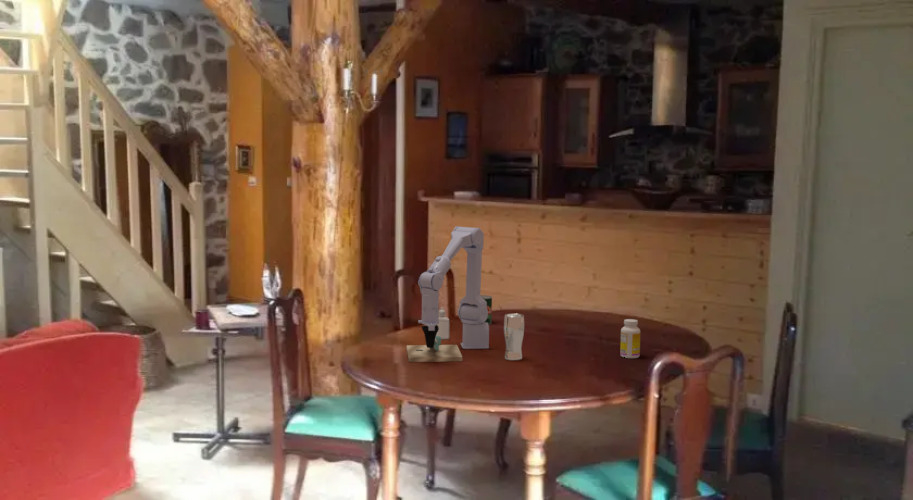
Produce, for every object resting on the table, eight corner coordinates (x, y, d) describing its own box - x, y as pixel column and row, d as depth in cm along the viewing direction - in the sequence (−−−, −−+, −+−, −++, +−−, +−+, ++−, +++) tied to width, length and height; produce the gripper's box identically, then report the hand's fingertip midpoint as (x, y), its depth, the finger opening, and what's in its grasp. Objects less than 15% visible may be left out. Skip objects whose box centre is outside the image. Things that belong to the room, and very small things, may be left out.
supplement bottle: (640, 355, 306) (642, 319, 304) (638, 359, 300) (639, 322, 298) (621, 353, 308) (622, 317, 307) (618, 357, 302) (619, 321, 300)
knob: (425, 343, 304) (425, 335, 304) (439, 342, 305) (439, 335, 305) (429, 350, 294) (429, 342, 293) (444, 349, 294) (444, 342, 294)
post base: (456, 348, 313) (456, 339, 312) (462, 361, 295) (462, 351, 294) (406, 349, 311) (406, 339, 310) (408, 361, 293) (409, 351, 293)
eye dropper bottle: (444, 340, 326) (444, 309, 324) (432, 338, 329) (432, 307, 328) (451, 338, 329) (451, 307, 328) (439, 336, 332) (439, 305, 331)
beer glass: (509, 361, 295) (510, 317, 293) (499, 357, 301) (500, 314, 299) (527, 359, 298) (528, 316, 296) (516, 355, 304) (517, 312, 303)
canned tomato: (473, 320, 363) (474, 294, 362) (492, 321, 362) (492, 295, 361) (471, 324, 355) (471, 298, 354) (490, 325, 354) (491, 298, 353)
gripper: (417, 303, 301) (416, 342, 302) (419, 311, 286) (419, 352, 288) (437, 303, 301) (437, 342, 303) (441, 311, 287) (440, 352, 289)
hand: (429, 347), depth 295 cm, fingers closed
